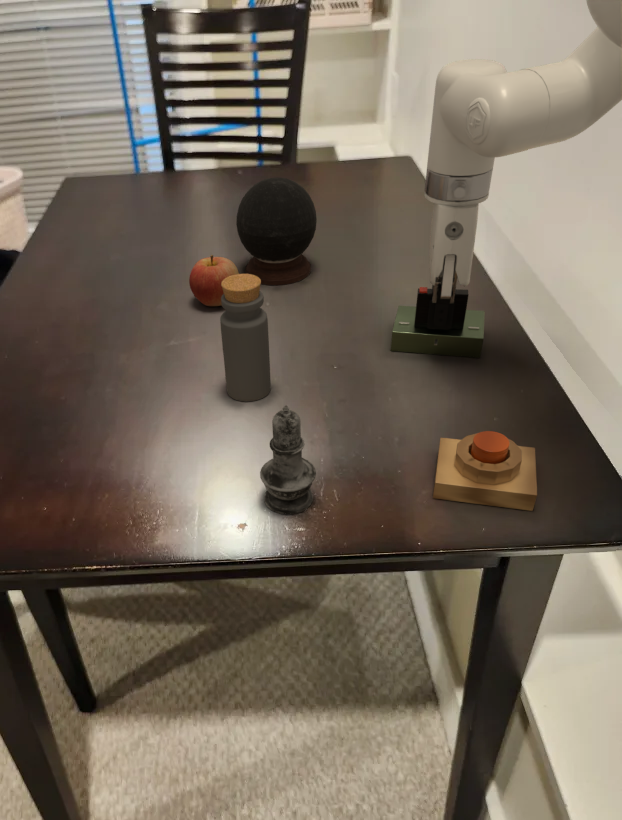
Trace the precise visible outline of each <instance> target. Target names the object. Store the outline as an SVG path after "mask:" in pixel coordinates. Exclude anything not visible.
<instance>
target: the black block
mask: <svg viewBox="0 0 622 820" xmlns="http://www.w3.org/2000/svg"><path fill="white" fill-rule="evenodd" d="M469 294H470V293H469V289H459V288H456V291H455V298H454V300H455V306H454V313H453V320H452V327H451V329H463V327H464V321H465V315H466V310H467V308H468V301H469ZM432 297H433V289H432V288H428V287H427V286H419V288H418V287H417V295H416V302H415V303H416V304H415V307H416V312H415V321H414V327H415V328H427V321H428V313H429V305H430V300H432Z"/></svg>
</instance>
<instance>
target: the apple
mask: <svg viewBox="0 0 622 820" xmlns="http://www.w3.org/2000/svg"><path fill="white" fill-rule="evenodd" d="M239 272H240V271H239V270H238V267H237V266H236V264H235V263H234V262H233V261H232V260H230V259H229V258H226V257H223V256H214V255H213V254H210V255H209V256H207V257H203V258H200V259H199V260H198V261H196V262H195V264H194V265H193V267H192V269H191V271H190V274H189V278H188V283H189V289H190V291H191V292H192V294H193V296H194V297H195V298H196V299H197V300H198V301H199V303H201V304H203V306H207V307H222V303H221V297H222V295H223V294H224V292H223V289H222V286H221V283H222V281H223V280H224V279H225V278H227V277H229V276H231V275H236V274H240V273H239Z"/></svg>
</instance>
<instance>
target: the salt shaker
mask: <svg viewBox="0 0 622 820" xmlns="http://www.w3.org/2000/svg"><path fill="white" fill-rule="evenodd" d="M271 424H272V425H271V426H272V427H271V428H272V438H271V439H270V441H269V449H270V450H271V451H272V458H271V459H269V460H268V461H266V462H265V463H264V464H263V465H262V467H261V468H260V471H259V477H260V480H261V482H262V483H263V485H264V487H265V488H266V491H265V493H264V497H263V498H264V499H263V500H264V503H265V505H266V507H267V508H268V509H269V510H270V511H272V512H274V513H276V514H280V515H285V516H287V515H297V514H301V513H302V512H304V511H306V510H308V509H309V508H310V507H311V505H312V504H313V501H314V493H313V492H312V490H311V487H312V485H313V482H314V481H315V479H316V475H317V471H316V467H315V466H314V464H313V463H312V462H310V461H309V460H308V459H306V458H304V457H303V451H302V450H303V449H304V448H305V444H306V443H305V439H304V438H303V437H302V433H301V431H302V429H301V424H302V423H301V417H300V415H299V414H298V413H297V412H295V411H294V410H291V409H290V407H289V406H288V405H287V404H285V405H284V406H283V407H282V409H281V410H279V411H277V412H276V413H275V415H273V416H272V421H271Z"/></svg>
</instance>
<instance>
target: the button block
mask: <svg viewBox="0 0 622 820" xmlns="http://www.w3.org/2000/svg"><path fill="white" fill-rule="evenodd" d="M478 433H479V432H477V433H473V434H467V435H466V436H464V437H463V438H462V439H459V438H458V439H457V438H449V437H440V438H439V445H438V450H437V459H436V467H435V476H434V485H433V491H432V492H433V494H432V499H435V500H443V501H451V502H460V503H468V504H475V505H483V506H490V507H499V508H504V509H505V508H506V509H512V510H513V509H514V510H521V511H530V512H533V511H534V507H535V505H536V501H537V499H538V498H537V497H538V484H537V481H538V480H537V464H536V463H537V462H536V447H531V446H522V445H517V443H515V441H514V440H512V439H510V438H508V440H509V443H510V444H509V449H508V453H507V457H506V459H505V461H504V462H502V463H498V464H488V463H482V462H480V461H478V460H476V459H474V458H473V457H472V455H471V448H472V443H473V438H474V436H475V435H476V434H478Z"/></svg>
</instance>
